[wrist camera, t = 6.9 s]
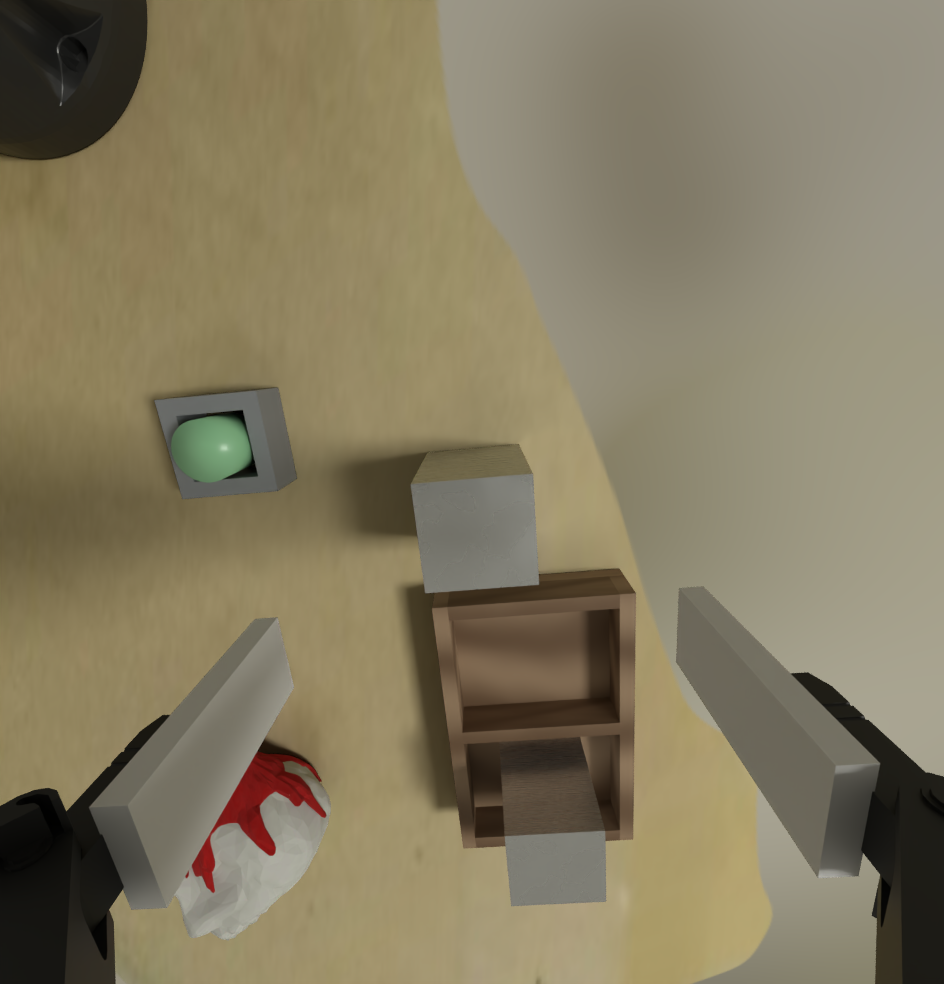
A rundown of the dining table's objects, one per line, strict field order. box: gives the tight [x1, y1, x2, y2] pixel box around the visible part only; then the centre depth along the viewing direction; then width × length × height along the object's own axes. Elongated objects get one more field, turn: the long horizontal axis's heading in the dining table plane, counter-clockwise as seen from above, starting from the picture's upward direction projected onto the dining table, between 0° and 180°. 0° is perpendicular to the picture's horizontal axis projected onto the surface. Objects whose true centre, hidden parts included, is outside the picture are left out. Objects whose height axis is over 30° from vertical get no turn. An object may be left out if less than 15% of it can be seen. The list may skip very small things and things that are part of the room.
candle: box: [175, 751, 331, 940], centre depth 34 cm, size 9×11×15 cm
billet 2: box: [500, 737, 606, 906], centre depth 32 cm, size 6×6×8 cm
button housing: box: [154, 388, 297, 499], centre depth 28 cm, size 6×6×3 cm
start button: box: [171, 412, 255, 483], centre depth 27 cm, size 4×4×4 cm
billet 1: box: [411, 444, 539, 593], centre depth 27 cm, size 6×6×8 cm
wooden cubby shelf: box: [432, 569, 636, 848], centre depth 33 cm, size 21×13×4 cm, turn 5°
